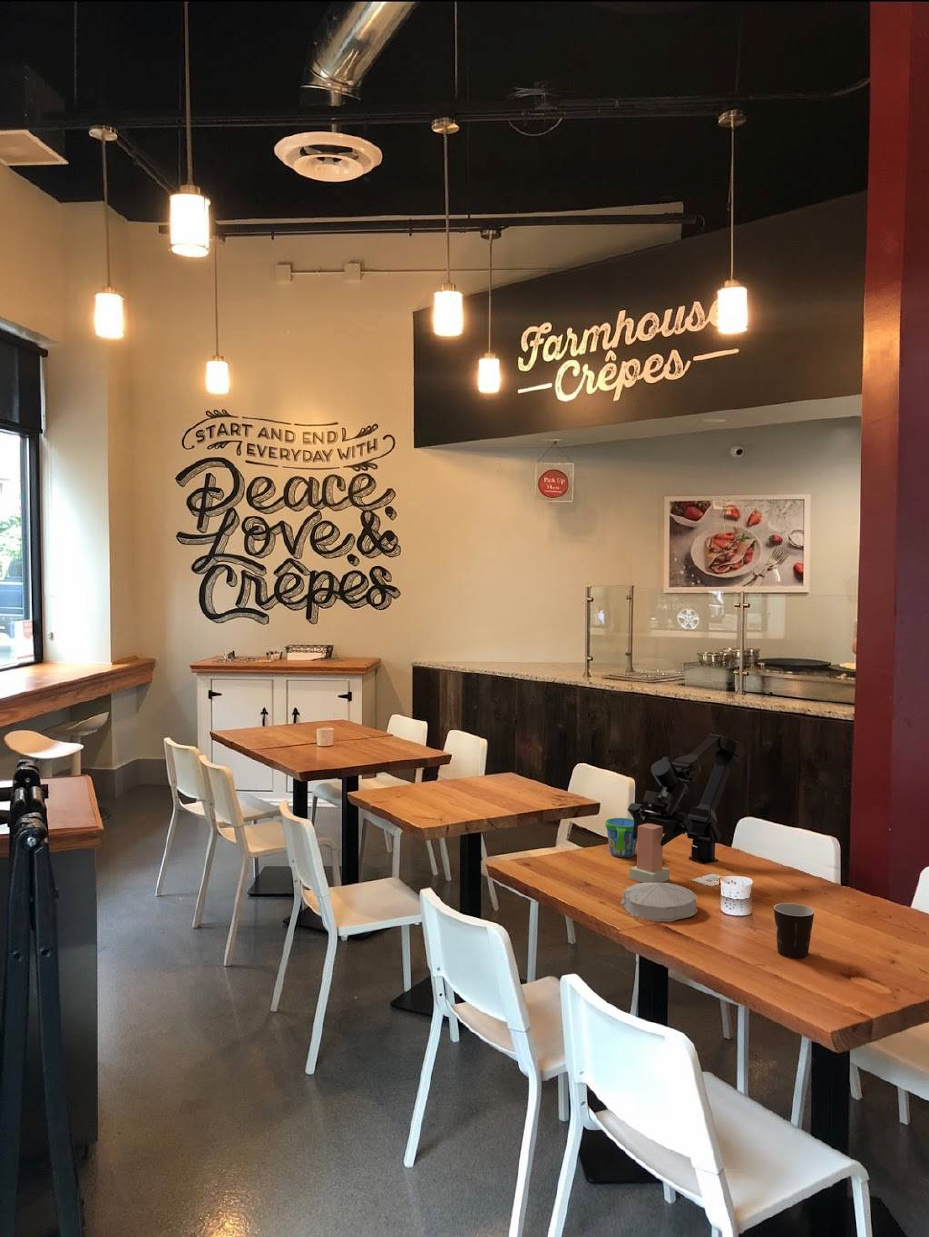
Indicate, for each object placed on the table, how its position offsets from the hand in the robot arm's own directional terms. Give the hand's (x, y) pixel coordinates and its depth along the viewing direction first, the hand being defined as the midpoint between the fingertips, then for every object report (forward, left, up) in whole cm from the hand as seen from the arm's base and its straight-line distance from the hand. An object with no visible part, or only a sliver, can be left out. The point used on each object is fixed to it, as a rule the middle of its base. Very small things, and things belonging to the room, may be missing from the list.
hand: (647, 842), depth 268 cm
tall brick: (-1, 0, -8) cm, 8 cm away
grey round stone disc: (+13, +20, -11) cm, 26 cm away
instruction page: (-16, +9, -11) cm, 21 cm away
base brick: (-1, 0, -11) cm, 11 cm away
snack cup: (-10, -23, -11) cm, 28 cm away
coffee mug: (+8, +58, -11) cm, 59 cm away
